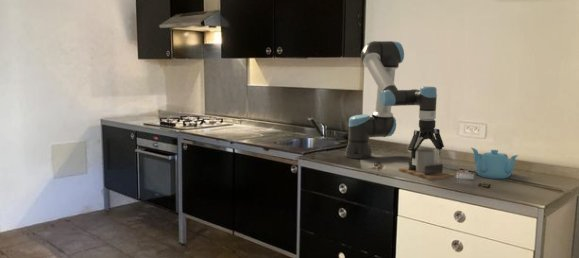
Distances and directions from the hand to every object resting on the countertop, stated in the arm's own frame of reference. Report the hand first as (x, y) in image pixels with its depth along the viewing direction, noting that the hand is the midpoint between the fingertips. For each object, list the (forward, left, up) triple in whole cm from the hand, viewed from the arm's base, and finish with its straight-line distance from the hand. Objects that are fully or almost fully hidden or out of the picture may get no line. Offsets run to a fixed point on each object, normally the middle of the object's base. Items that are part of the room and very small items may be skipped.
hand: (425, 163), depth 233 cm
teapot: (+17, +25, -5) cm, 31 cm away
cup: (0, 0, -4) cm, 4 cm away
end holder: (0, 0, -5) cm, 5 cm away
